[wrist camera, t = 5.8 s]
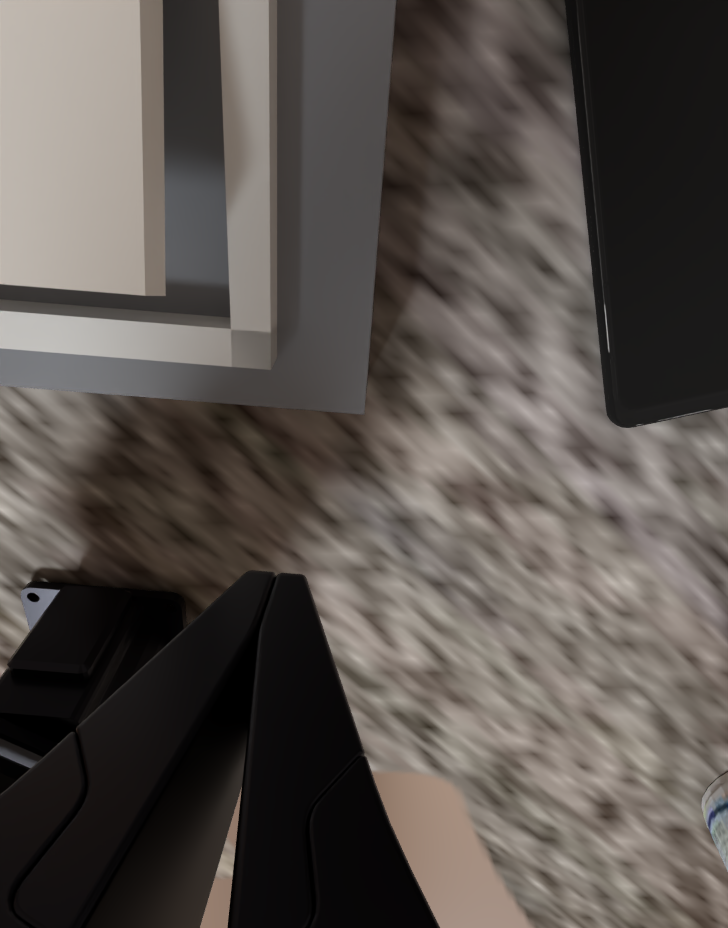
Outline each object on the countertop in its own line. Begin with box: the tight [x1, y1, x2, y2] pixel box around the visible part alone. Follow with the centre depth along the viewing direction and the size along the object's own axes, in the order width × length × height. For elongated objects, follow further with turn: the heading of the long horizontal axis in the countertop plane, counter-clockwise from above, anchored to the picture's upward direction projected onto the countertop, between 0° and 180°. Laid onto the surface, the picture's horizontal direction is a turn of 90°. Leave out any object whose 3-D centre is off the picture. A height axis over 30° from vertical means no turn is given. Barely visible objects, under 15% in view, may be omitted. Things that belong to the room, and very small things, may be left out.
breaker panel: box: [0, 0, 397, 415], centre depth 14 cm, size 17×15×4 cm
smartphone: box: [565, 0, 728, 428], centre depth 17 cm, size 7×1×15 cm
